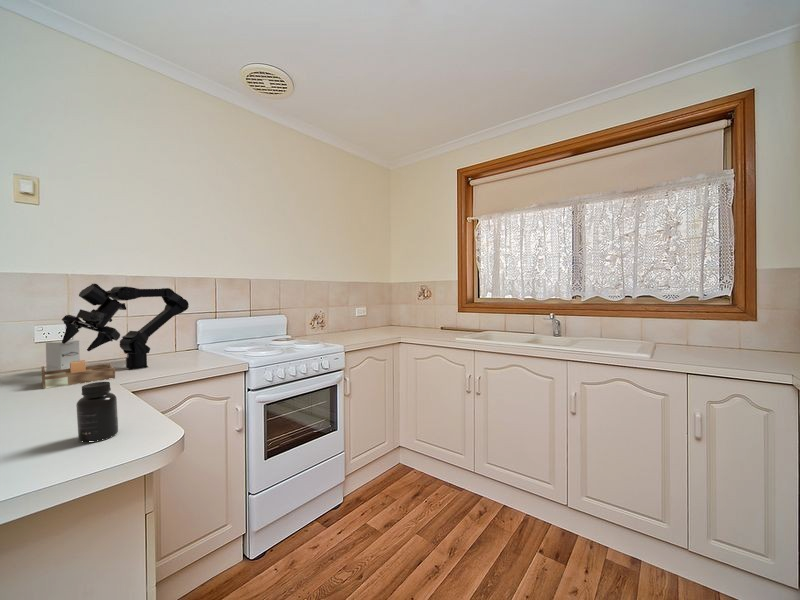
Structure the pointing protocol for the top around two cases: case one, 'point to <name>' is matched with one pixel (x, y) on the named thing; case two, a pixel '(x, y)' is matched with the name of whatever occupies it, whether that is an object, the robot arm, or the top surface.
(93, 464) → the top surface
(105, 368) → the brown flat box
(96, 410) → the supplement bottle
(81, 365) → the block
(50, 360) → the supplement box
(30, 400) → the top surface
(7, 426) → the top surface
